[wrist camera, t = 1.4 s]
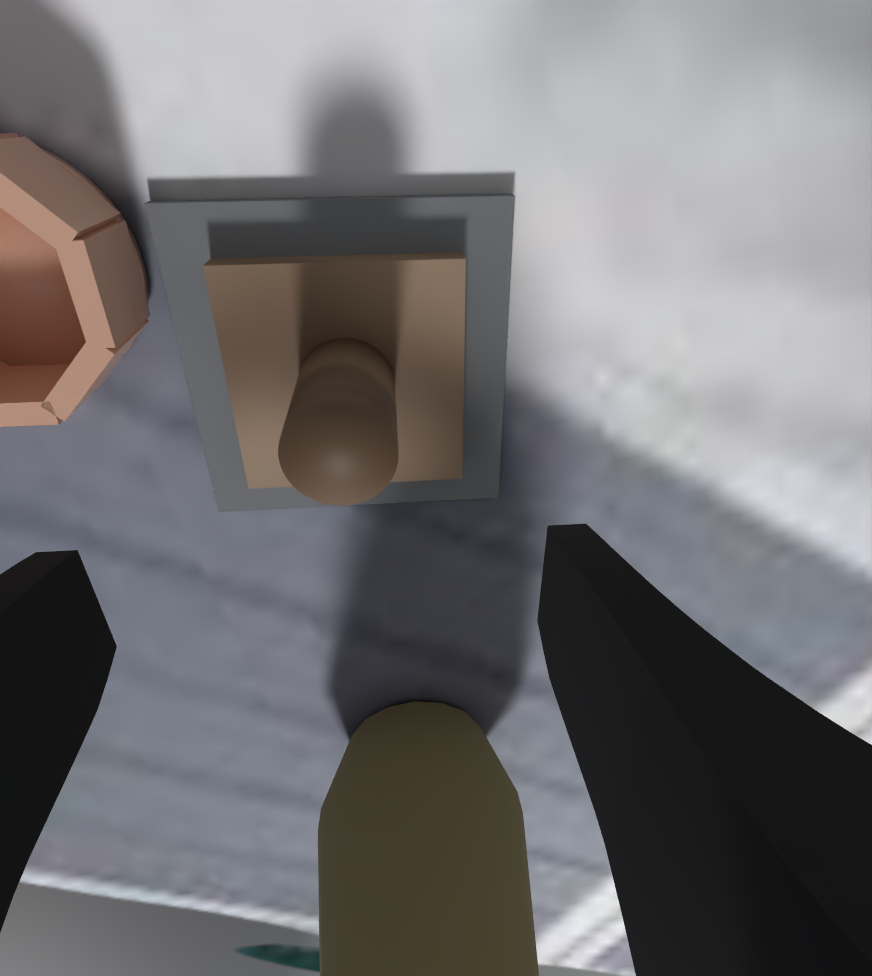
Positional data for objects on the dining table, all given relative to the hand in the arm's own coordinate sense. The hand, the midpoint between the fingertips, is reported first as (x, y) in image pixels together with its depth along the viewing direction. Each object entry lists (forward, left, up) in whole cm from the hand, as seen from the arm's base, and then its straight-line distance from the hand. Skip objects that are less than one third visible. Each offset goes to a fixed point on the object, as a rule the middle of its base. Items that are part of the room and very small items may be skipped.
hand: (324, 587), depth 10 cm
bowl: (+3, +8, -10) cm, 13 cm away
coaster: (0, 0, -10) cm, 10 cm away
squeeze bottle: (-18, -1, -10) cm, 20 cm away
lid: (0, 0, -9) cm, 9 cm away
